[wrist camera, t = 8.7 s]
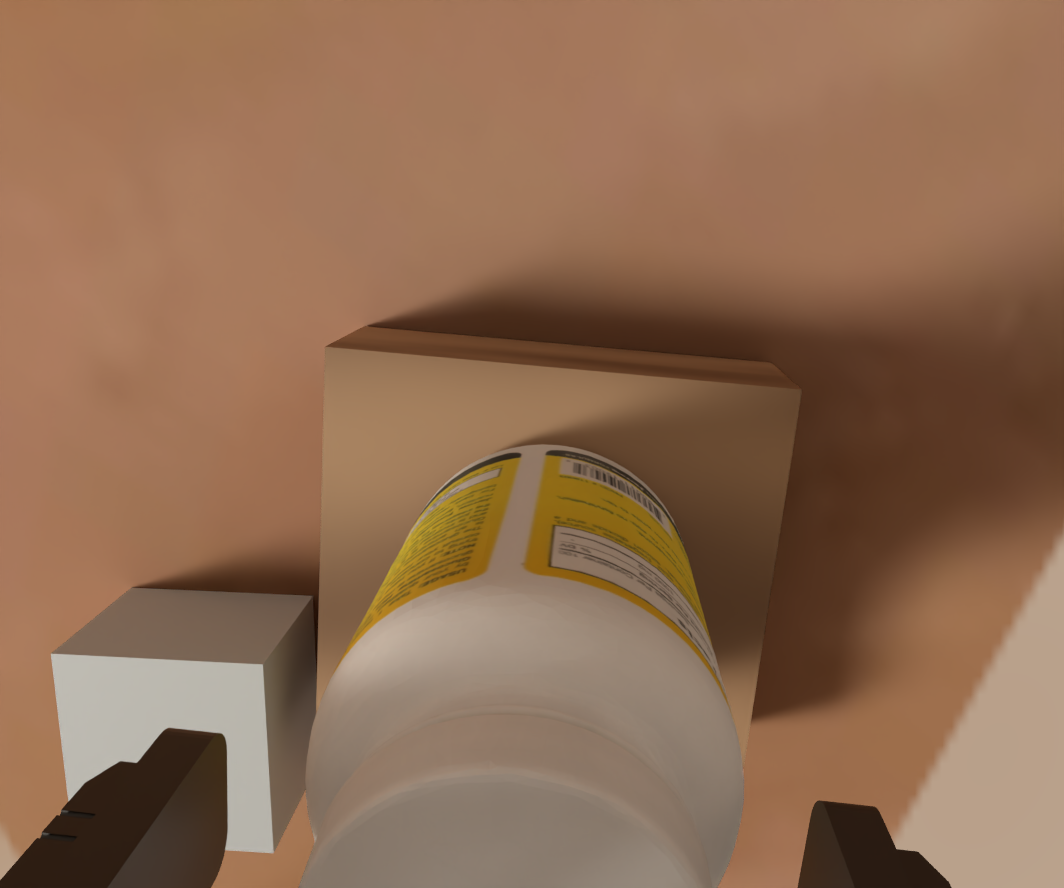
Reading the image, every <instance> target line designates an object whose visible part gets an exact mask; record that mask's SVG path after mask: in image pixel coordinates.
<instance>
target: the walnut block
mask: <svg viewBox="0 0 1064 888" xmlns="http://www.w3.org/2000/svg"><path fill="white" fill-rule="evenodd" d="M801 394H802V389H801V388H800V387H798V386H797V385H796V384H795V383H794V382H793V381H792V380H791V379H789V378H788V377H787V376H786V375H785V374H784V373H783V372H782V371H780V370H779V369H778V368H777V367H776V366H775V365H774V364H773V363H771V362H760V361H749V360H738V359H726V358H715V357H704V356H693V355H681V354H670V353H659V352H648V351H637V350H625V349H614V348H603V347H592V346H580V345H569V344H558V343H547V342H535V341H524V340H513V339H502V338H491V337H479V336H468V335H457V334H446V333H434V332H423V331H412V330H401V329H389V328H378V327H367V326H364V327H362V328H360V329H358V330H356V331H355V332H353V333H351V334H349V335H347V336H345V337H343V338H341V339H339V340H337V341H335V342H333V343H331V344H329V345H328V346H326V347H325V368H324V408H323V449H322V490H321V531H320V571H319V612H318V653H317V694H316V713H317V710H318V708H319V705H320V702H321V699H322V696H323V694H324V692H325V690H326V688H327V685H328V683H329V681H330V679H331V677H332V675H333V673H334V671H335V669H336V667H337V665H338V663H339V662H340V660H341V658H342V656H343V655H344V653H345V651H346V649H347V647H348V646H349V644H350V642H351V640H352V638H353V636H354V635H355V633H356V631H357V629H358V627H359V626H360V624H361V622H362V620H363V618H364V617H365V615H366V613H367V611H368V609H369V608H370V606H371V604H372V602H373V600H374V598H375V596H376V595H377V593H378V591H379V589H380V587H381V585H382V584H383V582H384V580H385V578H386V576H387V574H388V572H389V570H390V568H391V566H392V564H393V563H394V561H395V560H396V558H397V556H398V554H399V552H400V550H401V549H402V547H403V545H404V543H405V541H406V538H407V537H408V535H409V533H410V531H411V529H412V528H413V526H414V524H415V522H416V520H417V519H418V517H419V516H420V514H421V513H422V511H423V509H424V508H425V506H426V505H427V504H428V502H429V501H430V499H431V498H432V497H433V496H434V495H435V494H436V492H437V491H438V490H439V489H440V488H441V487H442V486H443V485H444V484H445V483H446V482H447V481H448V480H449V479H450V478H452V477H453V476H454V475H455V474H457V473H458V472H459V471H461V470H462V469H463V468H465V467H467V466H468V465H470V464H471V463H473V462H475V461H477V460H479V459H481V458H484V457H486V456H488V455H491V454H494V453H496V452H499V451H503V450H506V449H510V448H515V447H521V446H527V445H541V444H545V445H561V446H568V447H573V448H578V449H582V450H586V451H589V452H592V453H595V454H597V455H600V456H602V457H605V458H607V459H609V460H611V461H613V462H615V463H617V464H618V465H620V466H622V467H624V468H625V469H627V470H629V471H630V472H631V473H633V474H634V475H635V476H636V477H638V478H639V479H640V480H641V481H643V482H644V483H645V484H646V485H647V486H648V487H649V488H650V489H651V490H652V491H653V492H654V493H655V494H656V496H657V497H658V498H659V499H660V501H661V502H662V503H663V505H664V506H665V507H666V509H667V511H668V512H669V514H670V515H671V517H672V519H673V520H674V523H675V525H676V527H677V529H678V531H679V534H680V536H681V539H682V541H683V544H684V547H685V550H686V553H687V557H688V560H689V563H690V567H691V570H692V574H693V578H694V582H695V586H696V590H697V593H698V597H699V600H700V604H701V607H702V611H703V614H704V618H705V622H706V625H707V629H708V632H709V636H710V639H711V643H712V647H713V650H714V653H715V656H716V660H717V664H718V668H719V672H720V675H721V679H722V682H723V685H724V687H725V691H726V695H727V699H728V702H729V704H730V706H731V711H732V716H733V719H734V722H735V725H736V730H737V734H738V739H739V744H740V749H741V756H742V765H743V769H744V762H745V756H746V749H747V743H748V736H749V730H750V723H751V717H752V711H753V704H754V698H755V691H756V685H757V678H758V672H759V665H760V659H761V652H762V646H763V640H764V633H765V627H766V620H767V614H768V607H769V601H770V594H771V588H772V581H773V575H774V569H775V562H776V556H777V549H778V543H779V536H780V530H781V523H782V517H783V510H784V504H785V497H786V491H787V485H788V478H789V472H790V465H791V459H792V452H793V446H794V439H795V433H796V426H797V420H798V414H799V407H800V401H801Z"/></svg>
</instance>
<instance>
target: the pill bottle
mask: <svg viewBox="0 0 1064 888" xmlns="http://www.w3.org/2000/svg"><path fill="white" fill-rule="evenodd" d="M305 787H306V799H307V808H308V815H309V820H310V824H311V828H312V832H313V836H314V839H315V843H314V846H313V849H312V851H311V854H310V857H309V860H308V862H307V865H306V868H305V871H304V873H303V876H302V879H301V882H300V885H299V887H298V888H717V887H718V885H719V883H720V881H721V879H722V877H723V875H724V873H725V871H726V869H727V867H728V864H729V862H730V859H731V856H732V853H733V850H734V847H735V843H736V839H737V834H738V830H739V826H740V822H741V816H742V809H743V802H744V775H743V765H742V756H741V749H740V744H739V739H738V734H737V730H736V725H735V722H734V719H733V716H732V711H731V706H730V704H729V702H728V699H727V695H726V691H725V687H724V685H723V682H722V679H721V675H720V672H719V668H718V664H717V660H716V656H715V653H714V650H713V647H712V643H711V639H710V636H709V632H708V629H707V625H706V622H705V618H704V614H703V611H702V607H701V604H700V600H699V597H698V593H697V590H696V586H695V582H694V578H693V574H692V570H691V567H690V563H689V560H688V557H687V553H686V550H685V547H684V544H683V541H682V539H681V536H680V534H679V531H678V529H677V527H676V525H675V523H674V520H673V519H672V517H671V515H670V514H669V512H668V511H667V509H666V507H665V506H664V505H663V503H662V502H661V501H660V499H659V498H658V497H657V496H656V494H655V493H654V492H653V491H652V490H651V489H650V488H649V487H648V486H647V485H646V484H645V483H644V482H643V481H641V480H640V479H639V478H638V477H636V476H635V475H634V474H633V473H631V472H630V471H629V470H627V469H625V468H624V467H622V466H620V465H618V464H617V463H615V462H613V461H611V460H609V459H607V458H605V457H602V456H600V455H597V454H595V453H592V452H589V451H586V450H582V449H578V448H573V447H568V446H561V445H545V444H541V445H527V446H521V447H515V448H510V449H506V450H503V451H499V452H496V453H494V454H491V455H488V456H486V457H484V458H481V459H479V460H477V461H475V462H473V463H471V464H470V465H468V466H467V467H465V468H463V469H462V470H461V471H459V472H458V473H457V474H455V475H454V476H453V477H452V478H450V479H449V480H448V481H447V482H446V483H445V484H444V485H443V486H442V487H441V488H440V489H439V490H438V491H437V492H436V494H435V495H434V496H433V497H432V498H431V499H430V501H429V502H428V504H427V505H426V506H425V508H424V509H423V511H422V513H421V514H420V516H419V517H418V519H417V520H416V522H415V524H414V526H413V528H412V529H411V531H410V533H409V535H408V537H407V538H406V541H405V543H404V545H403V547H402V549H401V550H400V552H399V554H398V556H397V558H396V560H395V561H394V563H393V564H392V566H391V568H390V570H389V572H388V574H387V576H386V578H385V580H384V582H383V584H382V585H381V587H380V589H379V591H378V593H377V595H376V596H375V598H374V600H373V602H372V604H371V606H370V608H369V609H368V611H367V613H366V615H365V617H364V618H363V620H362V622H361V624H360V626H359V627H358V629H357V631H356V633H355V635H354V636H353V638H352V640H351V642H350V644H349V646H348V647H347V649H346V651H345V653H344V655H343V656H342V658H341V660H340V662H339V663H338V665H337V667H336V669H335V671H334V673H333V675H332V677H331V679H330V681H329V683H328V685H327V688H326V690H325V692H324V694H323V696H322V699H321V702H320V705H319V708H318V710H317V713H316V716H315V719H314V723H313V726H312V730H311V736H310V741H309V748H308V754H307V763H306V776H305Z"/></svg>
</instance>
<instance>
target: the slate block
mask: <svg viewBox="0 0 1064 888" xmlns="http://www.w3.org/2000/svg"><path fill="white" fill-rule="evenodd" d="M51 658H52V667H53V675H54V683H55V692H56V700H57V709H58V717H59V726H60V734H61V742H62V751H63V759H64V768H65V776H66V785H67V793H68V801H70V799H71V798H72V797H73V796H74V795H75V794H76V792H77V791H78V790H79V789H80V788H81V787H82V786H83V784H84V783H85V782H87V781H89V780H90V779H92V778H94V777H95V776H97V775H98V774H100V773H102V772H103V771H105V770H106V769H108V768H110V767H111V766H113V765H115V764H116V763H118V762H119V761H124V762H133V763H137V762H138V761H139V760H140V759H141V757H142V756H143V755H144V754H145V752H146V751H147V750H148V749H149V747H150V746H151V745H152V744H153V742H154V741H155V740H156V739H157V737H158V736H159V735H160V734H161V733H162V732H163V731H164V730H165V729H167V728H177V729H186V730H195V731H204V732H213V733H222V734H223V735H224V737H225V739H226V744H227V803H228V833H227V842H226V848H225V850H232V851H248V852H263V853H274V851H275V849H276V847H277V845H278V843H279V841H280V839H281V837H282V835H283V833H284V831H285V829H286V827H287V825H288V824H289V822H290V820H291V818H292V816H293V814H294V812H295V810H296V808H297V806H298V804H299V802H300V800H301V798H302V796H303V794H304V792H305V790H306V787H305V776H306V763H307V754H308V748H309V741H310V736H311V730H312V726H313V723H314V719H315V716H316V694H317V681H316V657H315V632H314V608H313V596H305V595H283V594H261V593H239V592H217V591H195V590H173V589H151V588H130V589H129V590H128V591H127V592H126V593H124V594H123V595H122V596H121V597H119V598H118V599H117V600H116V601H115V602H113V603H112V604H111V605H110V606H108V607H107V608H106V609H105V610H104V611H102V612H101V613H100V614H99V615H97V616H96V617H95V618H94V619H93V620H91V621H90V622H89V623H88V624H87V625H85V626H84V627H83V628H82V629H80V630H79V631H78V632H77V633H76V634H74V635H73V636H72V637H71V638H69V639H68V640H67V641H66V642H65V643H63V644H62V645H61V646H60V647H58V648H57V649H56V650H55V651H54V652H52V653H51Z"/></svg>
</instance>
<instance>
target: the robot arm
mask: <svg viewBox="0 0 1064 888" xmlns="http://www.w3.org/2000/svg"><path fill="white" fill-rule="evenodd" d="M227 833H228V803H227V744H226V739H225V737H224V735H223V734H222V733H213V732H204V731H195V730H186V729H177V728H167V729H165V730H164V731H163V732H162V733H161V734H160V735H159V736H158V737H157V739H156V740H155V741H154V742H153V744H152V745H151V746H150V747H149V749H148V750H147V751H146V752H145V754H144V755H143V756H142V757H141V759H140V760H139V761H138V762H137V763H133V762H124V761H119V762H118V763H116V764H115V765H113V766H111V767H110V768H108V769H106V770H105V771H103V772H102V773H100V774H98V775H97V776H95V777H94V778H92V779H90V780H89V781H87V782H85V783H84V784H83V786H82V787H81V788H80V789H79V790H78V791H77V792H76V794H75V795H74V796H73V797H72V798H71V799H70V801H69V802H68V803H67V804H66V805H65V806H64V807H63V809H62V810H61V814H60V816H58V815H57V816H56V817H55V818H54V819H53V820H52V821H51V822H50V824H49V825H48V826H47V827H46V828H45V829H44V831H43V832H42V835H41V838H40V839H39V838H37V839H36V840H35V841H34V842H33V843H32V844H31V846H30V847H29V848H28V849H27V850H26V851H25V852H24V854H23V855H22V856H21V857H20V858H19V859H18V861H17V862H16V863H15V864H14V865H13V866H12V867H11V869H10V870H9V871H8V872H7V873H6V874H5V876H4V877H3V878H2V879H1V880H0V888H211V886H212V885H213V883H214V881H215V879H216V877H217V875H218V872H219V869H220V867H221V864H222V860H223V857H224V852H225V848H226V842H227ZM798 888H951V886H950V884H949V882H948V881H947V880H946V879H945V878H944V877H943V876H942V875H941V874H940V873H939V872H938V871H937V870H936V869H935V868H934V867H933V866H932V865H931V864H930V863H929V862H928V861H927V860H926V859H925V858H924V857H923V856H922V855H921V854H920V853H919V852H915V851H906V850H897V849H896V847H895V845H894V843H893V841H892V839H891V836H890V834H889V832H888V830H887V827H886V825H885V823H884V821H883V819H882V816H881V814H880V812H879V811H878V809H877V808H876V807H873V806H864V805H855V804H846V803H837V802H828V801H817V802H816V803H815V805H814V807H813V810H812V813H811V818H810V823H809V829H808V834H807V840H806V845H805V851H804V856H803V861H802V867H801V872H800V878H799V883H798Z"/></svg>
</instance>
